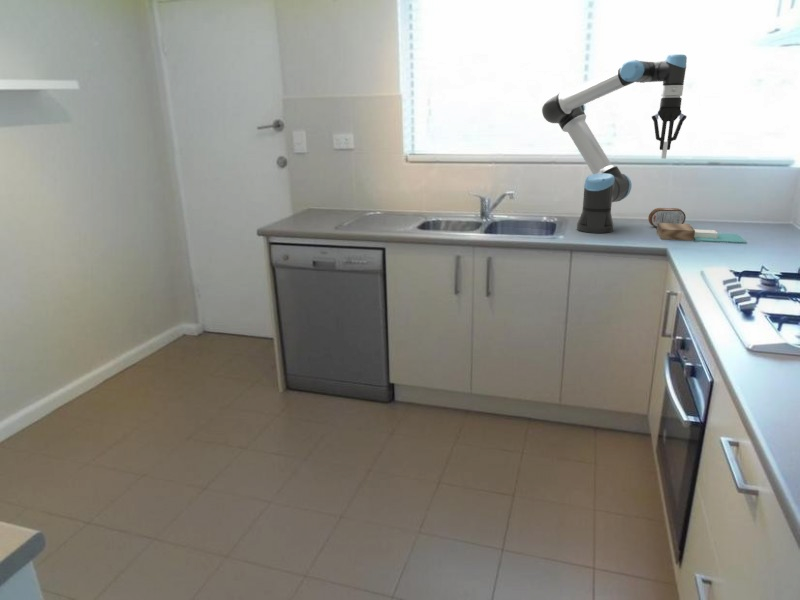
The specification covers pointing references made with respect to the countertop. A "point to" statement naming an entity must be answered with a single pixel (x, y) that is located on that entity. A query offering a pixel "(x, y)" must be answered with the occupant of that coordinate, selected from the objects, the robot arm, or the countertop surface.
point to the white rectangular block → (706, 233)
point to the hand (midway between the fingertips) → (663, 158)
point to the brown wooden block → (675, 231)
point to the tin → (666, 216)
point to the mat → (723, 238)
